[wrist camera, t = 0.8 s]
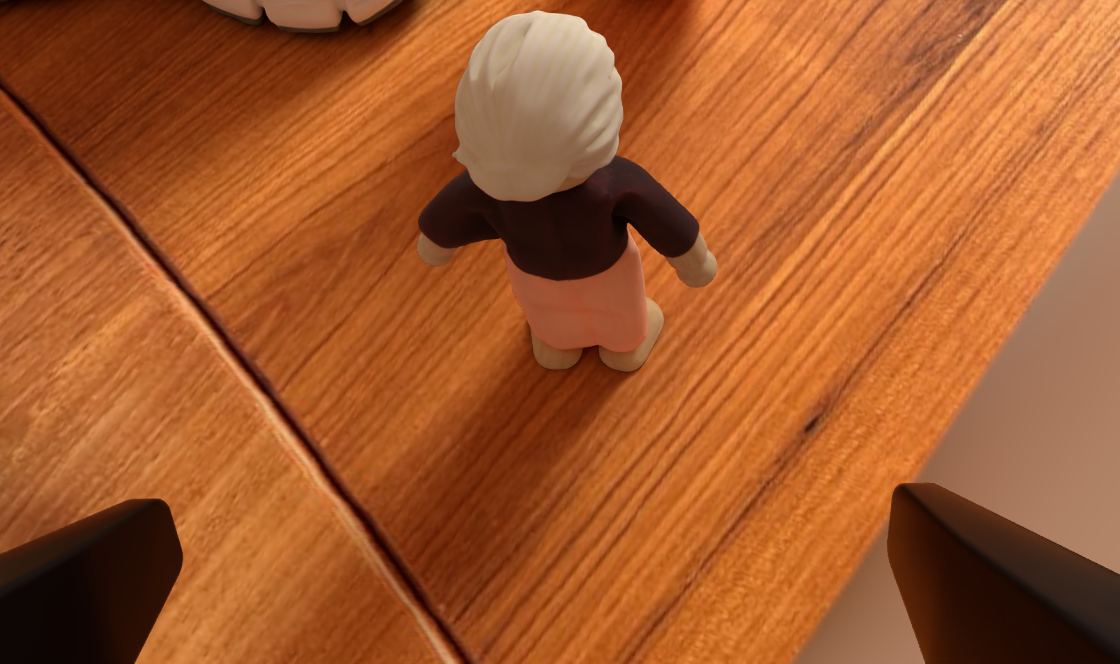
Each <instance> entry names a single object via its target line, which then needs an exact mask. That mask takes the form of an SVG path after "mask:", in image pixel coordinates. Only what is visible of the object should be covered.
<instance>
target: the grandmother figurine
mask: <svg viewBox="0 0 1120 664" xmlns="http://www.w3.org/2000/svg"><path fill="white" fill-rule="evenodd" d="M621 91H622V82H621V78H620V75H619V74H618V72H617V70H616V68H615V67H614V53H613V52H612V50H611V49H610V48H609V47H608V46H607V43H606V40H605V38H604V37H603V36H602V35H600V34H599V33H596V32H593V31H591V30H590V29H589V28H588V26H587V24H586V22H585V21H584V20H583V19H582V18H579V17H577V16H572V15H567V14H557V13H547V12H543V11H539V10H536V11H533V12H531V13H525V14H516V15H511V16H509V17H507V18H504V19H502V20H501V21H499V22H498V23H496V24H495V25H494V26H492V27H491V28H490V29H489V30H488V31H487V33H486V34H485V36H484V37H483V39H482V40H481V41H480V42H479V43H478V44H477V45H476V46H475V48H474V50H473V52H472V54H471V57H470V60H469V63H468V66H467V69H466V70H465V72H464V74H463V76H462V78H461V80H460V82H459V85H458V88H457V93H456V98H455V129H456V133H457V136H458V138H459V141H460V146H459V148H458V149H457V151H455V152H453V153H452V156H453V157H454V158H456V159H457V161H458V162H460V163H461V164H463V165H464V166H466V168H467V169H468V170H466V171H464V172H463V173H461V174H460V175H458V176H457V177H456V178H454V179H453V180H452V181H451V182H449V183H448V184H447V185H446V186H445V187H444V188H443V189H442V190H441V191H440V192H439V193H438V194H437V195H436V196H435V198H434V199H433V200H432V201H431V202H430V203H429V204H428V205H427V206H426V207H425V208H424V209H423V211H422V212H421V214H420V216H419V219H418V225H419V228H420V230H421V232H422V233H421V235H420V237H419V239H418V242H417V252H418V254H419V256H420V258H421V259H422V260H423V261H424V262H425V263H427V264H429V265H431V266H444V265H446V264H447V263H449V262H450V261H451V260H452V259H453V258H454V256H455V254H456V250H457V248H458V247H460V246H465V245H467V244H470V243H473V242H479V241H483V240H490V239H499V238H501V239H502V240H503V241H504V243H503V250H504V257H505V262H506V267H507V271H508V275H509V278H510V282H511V285H512V290H513V293H514V295H515V298H516V300H517V302H518V304H519V305H520V307H521V309H522V310H523V312H524V314H525V317H526V319H527V321H528V323H529V325H530V330H531V337H532V344H533V353H534V356H535V359H536V360H537V362H538V363H539V364H540V365H541V366H543V367H545V368H547V369H555V370H556V369H567V368H570V367H572V366H573V365H575V364H576V363H577V362H578V360H579V359H580V357H581V354H582V350H583V347H591V346H594V345H599V355H600V358H601V360H602V361H603V363H605V364H606V365H607V366H608V367H610V368H612V369H616V370H619V371H625V372H629V371H634V370H636V369H638V368H639V367H641V366H642V365H643V363H644V362H645V360H646V359H647V357H648V355H649V353H650V351H651V350H652V348H653V346H654V344H655V342H656V340H657V338H658V336H659V334H660V332H661V330H662V327H663V324H664V318H663V313H662V311H661V309H660V307H659V306H658V305H657V304H656V303H655V302H654V301H653V300H652V299H650V298H648V297H646V293H645V285H644V274H643V269H642V263H641V257H640V253H639V249H638V247H637V246H636V244H635V242H634V240H633V238H632V236H631V234H630V232H629V230H628V228H627V223H628V222H629V223H630V224H631V225H632V226H633V227H634V228H635V229H636V230H637V231H638V233H639V234H640V235H641V236H642V237H643V238H644V239H645V240H646V241H647V242H648V243H649V244H650V246H652V247H653V248H654V249H656V250H657V251H658V252H659V253H660V254H662V255H664V256H665V258H666V259H667V261H668V262H669V264H670V265H671V266H672V267H673V268H675V269H676V272H677V275H678V277H679V279H680V280H681V281H682V282H683V283H684V284H686V285H688V286H689V287H694V288H699V287H703V286H706V285H707V284H709V283H710V282H711V281H712V280H713V279H714V277H715V275H716V272H717V262H716V259H715V257H714V255H713V254H712V253H711V252H710V251H709V250H708V249H707V245H706V242H705V240H704V238H703V237H702V235H701V233H700V232H699V224H698V222H697V220H696V219H695V218H694V216H693V215H692V214H691V213H690V212H689V211H688V210H687V209H686V208H685V207H683V206H682V205H681V204H680V203H679V202H678V201H677V200H676V199H675V198H674V197H673V196H672V195H671V194H670V193H669V192H668V191H667V190H666V189H665V188H664V187H663V186H662V185H661V184H659V183H658V182H657V181H656V180H655V179H654V178H653V177H652V176H651V175H650V174H649V173H648V172H647V171H646V170H645V169H643V168H642V167H641V166H639V165H637V164H636V163H634V162H632V161H630V160H628V159H626V158H623V157H619V156H615V154H616V152H617V149H618V145H619V136H618V133H619V130H620V127H621V124H622V121H623V107H622V101H621Z"/></svg>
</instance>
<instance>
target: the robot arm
mask: <svg viewBox="0 0 1120 664" xmlns="http://www.w3.org/2000/svg"><path fill="white" fill-rule="evenodd" d="M887 552H888V558H889V562H890V566H891V568H892V571H893V574H894V577H895V580H896V582H897V585H898V588H899V591H900V593H901V596H902V599H903V602H904V605H905V607H906V610H907V613H908V616H909V619H910V621H911V624H912V627H913V630H914V633H915V635H916V638H917V641H918V644H919V647H920V649H921V652H922V654H923V658H924V660H925V663H926V664H1120V574H1118V573H1115V572H1114V571H1111V570H1109V569H1107V568H1105V567H1103V566H1101V565H1099V564H1097V563H1095V562H1093V561H1091V560H1089V559H1087V558H1085V557H1083V556H1081V555H1079V554H1077V553H1075V552H1073V551H1071V550H1069V549H1067V548H1065V547H1063V546H1061V545H1059V544H1057V543H1055V542H1052V541H1051V540H1049V539H1047V538H1045V537H1043V536H1040V535H1038V534H1036V533H1034V532H1032V531H1030V530H1028V529H1026V528H1024V527H1022V526H1020V525H1018V524H1016V523H1014V522H1012V521H1010V520H1008V519H1006V518H1004V517H1002V516H1000V515H998V514H996V513H994V512H992V511H990V510H988V509H986V508H984V507H982V506H980V505H977V504H976V503H974V502H972V501H970V500H968V499H965V498H963V497H961V496H959V495H957V494H955V493H953V492H951V491H949V490H947V489H945V488H943V487H941V486H939V485H937V484H935V483H902V484H899V485H898V486H897V487H896V488H895V489H894V492H893V495H892V503H891V512H890V521H889V530H888V539H887ZM182 563H183V552H182V548H181V545H180V541H179V538H178V534H177V531H176V528H175V524H174V521H173V517H172V514H171V511H170V508H169V506H168V505H167V503H166V502H165V501H163V500H161V499H155V498H154V499H130V500H127V501H124V502H122V503H119V504H117V505H114V506H112V507H110V508H107V509H105V510H103V511H100V512H98V513H96V514H93V515H91V516H89V517H86V518H84V519H81V520H79V521H77V522H74V523H72V524H70V525H67V526H65V527H63V528H60V529H58V530H56V531H53V532H51V533H48V534H46V535H44V536H41V537H39V538H37V539H34V540H32V541H30V542H27V543H25V544H23V545H20V546H18V547H15V548H13V549H11V550H8V551H6V552H4V553H1V554H0V664H135V662H136V660H137V658H138V656H139V654H140V652H141V650H142V648H143V646H144V644H145V642H146V640H147V638H148V636H149V634H150V632H151V630H152V628H153V626H154V624H155V622H156V620H157V618H158V616H159V614H160V612H161V610H162V608H163V606H164V604H165V602H166V600H167V598H168V596H169V594H170V592H171V590H172V588H173V586H174V584H175V582H176V580H177V578H178V576H179V574H180V571H181V567H182Z"/></svg>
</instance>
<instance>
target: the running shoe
mask: <svg viewBox="0 0 1120 664" xmlns="http://www.w3.org/2000/svg"><path fill="white" fill-rule="evenodd" d="M5 1H9V0H0V2H5ZM203 1H204V2H205V3H206V4H207V5H208V6H209V7H210V8H211V9H213V10H214V11H216V12H218V13H220V14H222V15H225V16H231V17H234V18H236V19H238V20H240V21H242V22H244V23H247V24H251V25H255V26H257V25H260V24H261V23H262V21H263V19H264V15H265V12H266V14H267V16H268V18H269V19H270V21H271V22H273V23H274V24H276V25H277V27H278V28H279V29H280V30H283V31H286V32H296V33H300V32H308V33H328V32H336V31H338V30H339V28H340V25H341V19H342V14H343V11H344V10H345V11H346V12H347V13H348V15H349V16H350V18H351V19H352V20H353V21H354V22H356V23H357V24H358V25H359V26H364V25H367V24H368V23H370V22H372V21H373V20H375V19H377V18H378V17H380V16H382V15H383V14H385V13H386V12H388V11H389V10H391V9H392V8H394V7H395V6H397V5H398V4H399V3H401V2H402V1H403V0H203Z"/></svg>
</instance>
